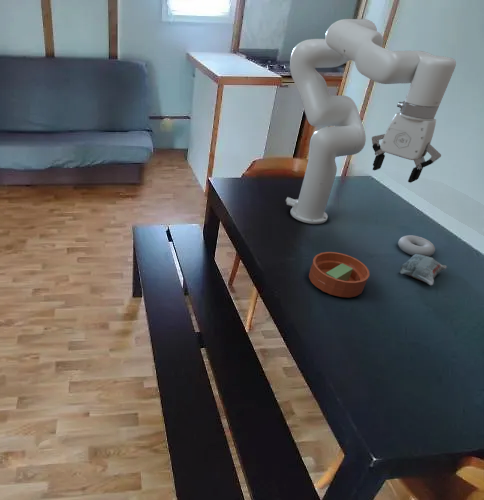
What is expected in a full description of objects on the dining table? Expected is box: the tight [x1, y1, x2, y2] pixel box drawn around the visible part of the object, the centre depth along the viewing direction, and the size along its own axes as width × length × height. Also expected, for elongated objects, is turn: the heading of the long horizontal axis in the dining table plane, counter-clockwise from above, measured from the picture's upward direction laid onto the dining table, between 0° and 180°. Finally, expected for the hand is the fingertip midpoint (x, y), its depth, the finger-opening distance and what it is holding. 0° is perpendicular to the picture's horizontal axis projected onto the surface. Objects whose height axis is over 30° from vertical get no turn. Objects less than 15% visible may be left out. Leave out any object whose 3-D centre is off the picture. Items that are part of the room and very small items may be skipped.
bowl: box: [308, 251, 371, 298], centre depth 111 cm, size 14×14×6 cm
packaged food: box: [399, 254, 448, 286], centre depth 116 cm, size 9×12×5 cm
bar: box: [326, 263, 353, 281], centre depth 111 cm, size 8×3×4 cm, turn 126°
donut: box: [397, 234, 436, 257], centre depth 127 cm, size 10×4×10 cm
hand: (393, 175), depth 111 cm, fingers open, 9 cm apart
